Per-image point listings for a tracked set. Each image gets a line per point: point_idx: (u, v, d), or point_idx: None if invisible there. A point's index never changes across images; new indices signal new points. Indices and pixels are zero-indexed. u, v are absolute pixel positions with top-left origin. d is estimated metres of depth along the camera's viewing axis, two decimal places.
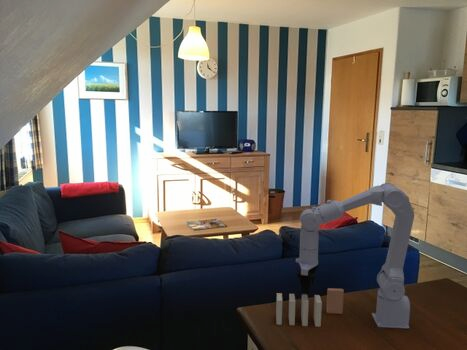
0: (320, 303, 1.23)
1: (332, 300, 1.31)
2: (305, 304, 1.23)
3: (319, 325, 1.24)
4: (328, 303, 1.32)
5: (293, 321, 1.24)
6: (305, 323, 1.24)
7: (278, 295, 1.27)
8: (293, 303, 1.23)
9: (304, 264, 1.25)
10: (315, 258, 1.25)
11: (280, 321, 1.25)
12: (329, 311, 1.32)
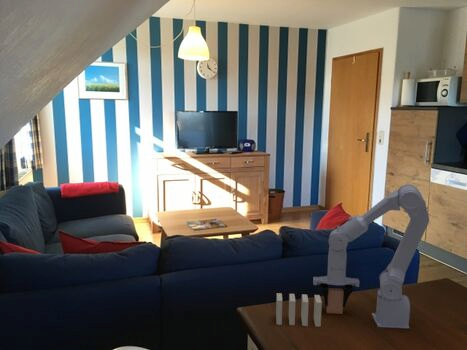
0: (320, 303, 1.23)
1: (332, 300, 1.31)
2: (305, 304, 1.23)
3: (319, 325, 1.24)
4: (328, 303, 1.32)
5: (293, 321, 1.24)
6: (305, 323, 1.24)
7: (278, 295, 1.27)
8: (293, 303, 1.24)
9: None
10: (332, 277, 1.28)
11: (280, 321, 1.25)
12: (329, 311, 1.32)
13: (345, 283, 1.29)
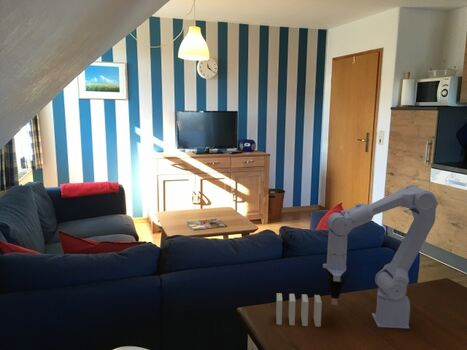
0: (320, 303, 1.23)
1: None
2: (305, 304, 1.23)
3: (319, 325, 1.24)
4: None
5: (293, 321, 1.24)
6: (305, 323, 1.24)
7: (278, 295, 1.27)
8: (293, 303, 1.23)
9: (334, 270, 1.21)
10: (344, 263, 1.22)
11: (280, 321, 1.25)
12: None
13: None
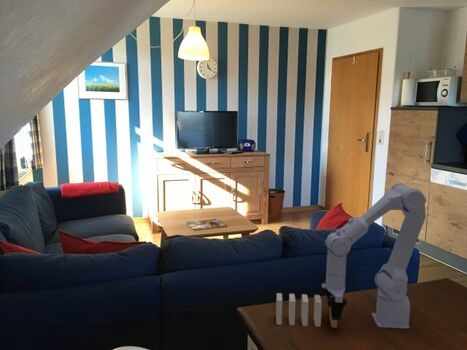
0: (320, 303, 1.23)
1: None
2: (305, 304, 1.23)
3: (319, 325, 1.24)
4: None
5: (293, 321, 1.24)
6: (305, 323, 1.24)
7: (278, 295, 1.27)
8: (293, 303, 1.23)
9: (334, 290, 1.21)
10: (344, 282, 1.22)
11: (280, 321, 1.25)
12: (336, 324, 1.24)
13: None
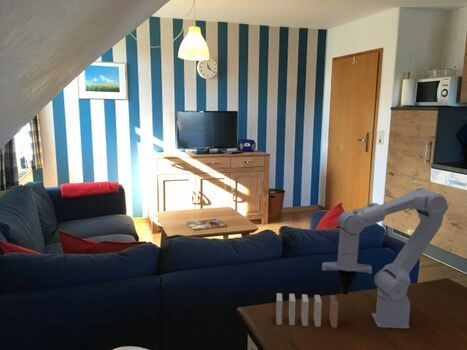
0: (320, 303, 1.23)
1: None
2: (305, 304, 1.23)
3: (319, 325, 1.24)
4: None
5: (293, 321, 1.24)
6: (305, 323, 1.24)
7: (278, 295, 1.27)
8: (293, 303, 1.23)
9: (336, 264, 1.24)
10: (343, 262, 1.20)
11: (280, 321, 1.25)
12: (336, 324, 1.24)
13: (357, 269, 1.20)
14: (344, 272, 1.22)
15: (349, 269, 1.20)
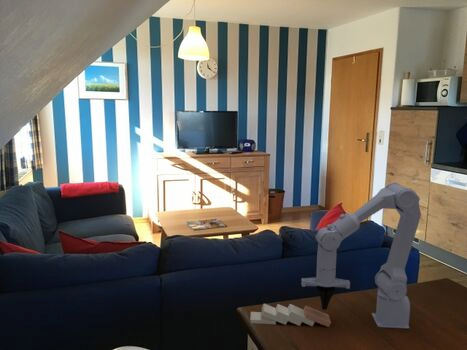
0: (291, 312, 1.24)
1: (316, 314, 1.25)
2: (279, 314, 1.24)
3: (313, 322, 1.24)
4: (320, 318, 1.24)
5: (283, 320, 1.25)
6: (298, 322, 1.24)
7: None
8: (265, 313, 1.25)
9: (315, 279, 1.25)
10: (321, 278, 1.22)
11: (272, 321, 1.25)
12: (328, 320, 1.24)
13: (335, 285, 1.22)
14: (323, 288, 1.23)
15: (327, 285, 1.21)
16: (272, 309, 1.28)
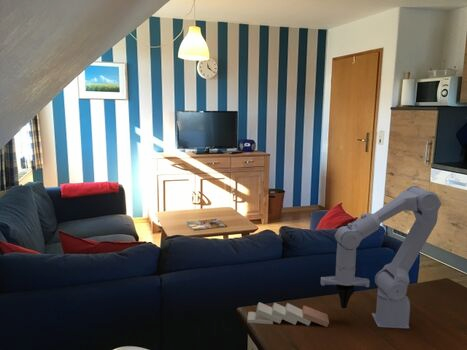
0: (287, 311, 1.25)
1: (314, 314, 1.25)
2: (274, 313, 1.25)
3: (309, 321, 1.24)
4: (318, 318, 1.24)
5: (277, 318, 1.25)
6: (294, 321, 1.25)
7: None
8: (259, 311, 1.25)
9: (334, 278, 1.25)
10: (341, 277, 1.22)
11: (269, 322, 1.25)
12: (327, 320, 1.24)
13: (355, 283, 1.22)
14: (342, 286, 1.24)
15: (347, 283, 1.21)
16: (267, 308, 1.28)
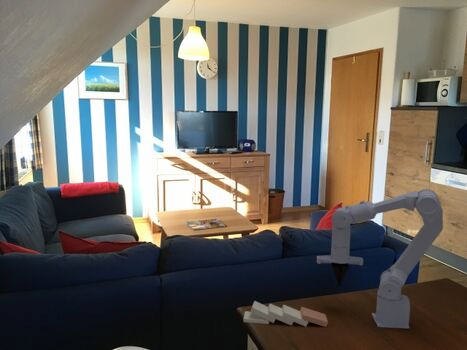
0: (284, 313, 1.24)
1: (313, 315, 1.25)
2: (271, 314, 1.25)
3: (306, 322, 1.24)
4: (317, 318, 1.24)
5: (271, 317, 1.25)
6: (290, 321, 1.24)
7: None
8: (253, 309, 1.26)
9: (330, 257, 1.32)
10: (336, 255, 1.28)
11: (265, 321, 1.25)
12: (325, 320, 1.24)
13: (349, 261, 1.28)
14: (337, 264, 1.30)
15: (342, 261, 1.28)
16: (262, 307, 1.29)
